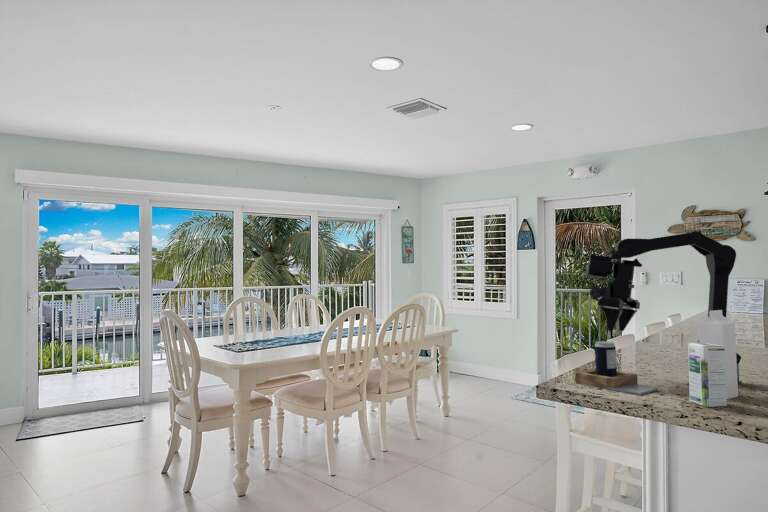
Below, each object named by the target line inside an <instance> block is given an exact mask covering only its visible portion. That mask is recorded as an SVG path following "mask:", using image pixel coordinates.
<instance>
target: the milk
mask: <svg viewBox="0 0 768 512" xmlns="http://www.w3.org/2000/svg"><path fill="white" fill-rule="evenodd" d="M709 314H710V317H708V316H707V317H706V318H705V319H702V320H700V321H698V324H697V325H698V340H699V342H698V343H709V344H715V345H720V346H725V364H726V392H727V400H729V399H734V398H737V397H739V384H738V381H737V359H736V353H737V345H736V343H737V342H736V323H735V322H734V321H732V320H730V319H729V318H727V316H726V317H724V316H723V315H722V310H714V311H710V312H709Z"/></svg>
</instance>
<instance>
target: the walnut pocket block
mask: <svg viewBox="0 0 768 512" xmlns="http://www.w3.org/2000/svg"><path fill="white" fill-rule="evenodd" d="M616 373H617V376H614V377H607V376H601V375H595V368H592V369H588V370H587V369H586V370H582V371H577V372H575V373H574V376H575V377H574V380H575V381H574V382H575V384H579V385H584V386H590V387H595V388H601V389H605V390H608V387H611V388H616V387H620V386H624V385H628V384H634V385H639V384H638V373H633V372H626V371H621V370H620V371H619V370H616Z"/></svg>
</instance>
